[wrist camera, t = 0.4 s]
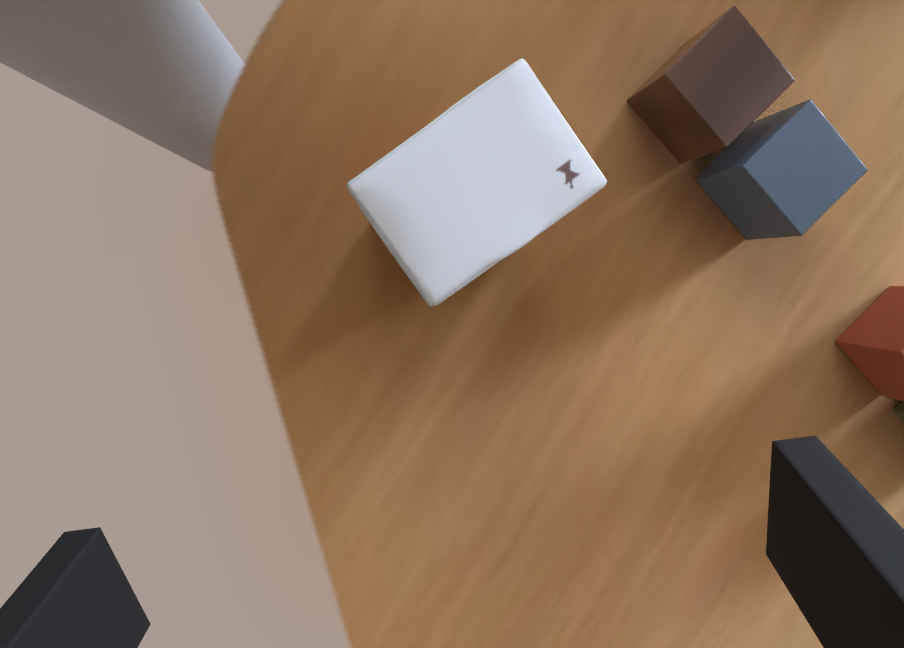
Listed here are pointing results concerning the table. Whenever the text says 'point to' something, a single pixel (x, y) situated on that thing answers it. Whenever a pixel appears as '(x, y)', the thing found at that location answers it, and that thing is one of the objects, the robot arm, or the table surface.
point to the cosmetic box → (476, 183)
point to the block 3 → (879, 343)
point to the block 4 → (900, 410)
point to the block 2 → (782, 173)
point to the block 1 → (711, 88)
